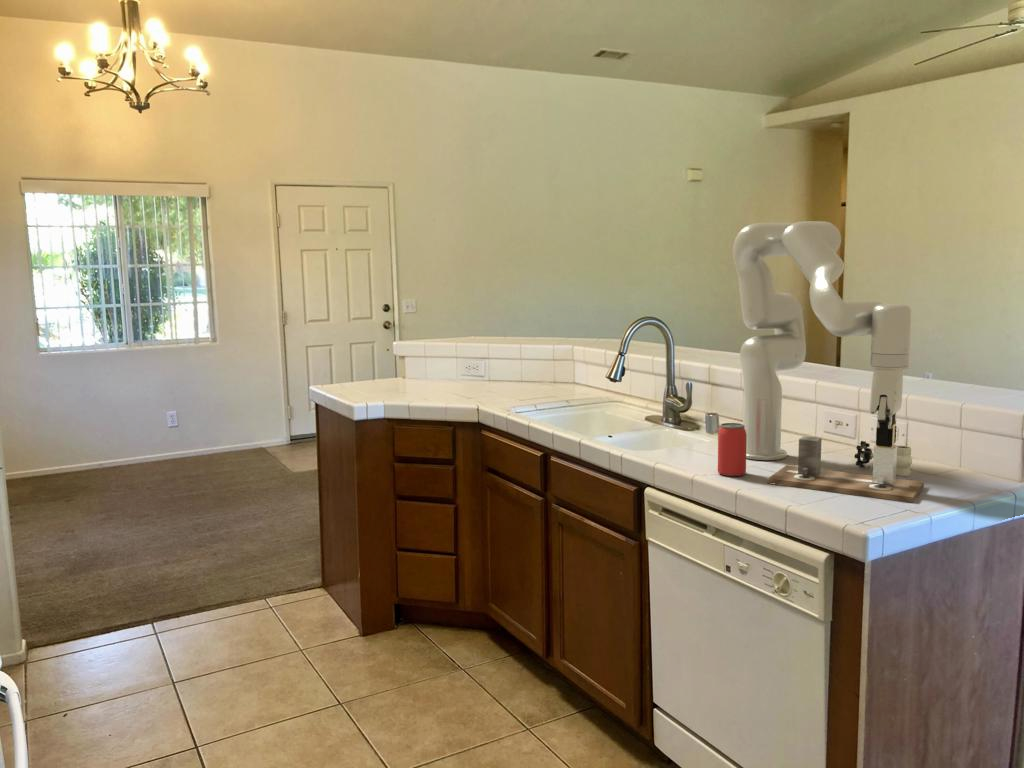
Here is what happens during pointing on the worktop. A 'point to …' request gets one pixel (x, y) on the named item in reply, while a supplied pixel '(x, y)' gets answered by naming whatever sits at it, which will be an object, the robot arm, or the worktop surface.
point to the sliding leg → (885, 463)
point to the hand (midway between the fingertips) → (885, 443)
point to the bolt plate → (839, 477)
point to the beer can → (732, 449)
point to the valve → (902, 458)
